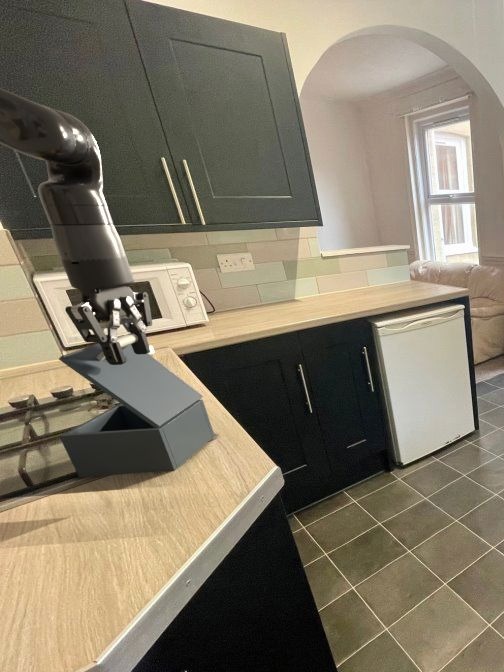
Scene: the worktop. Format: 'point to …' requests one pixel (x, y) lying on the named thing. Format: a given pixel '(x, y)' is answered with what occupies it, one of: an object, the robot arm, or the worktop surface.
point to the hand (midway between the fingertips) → (130, 358)
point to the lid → (135, 381)
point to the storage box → (136, 442)
